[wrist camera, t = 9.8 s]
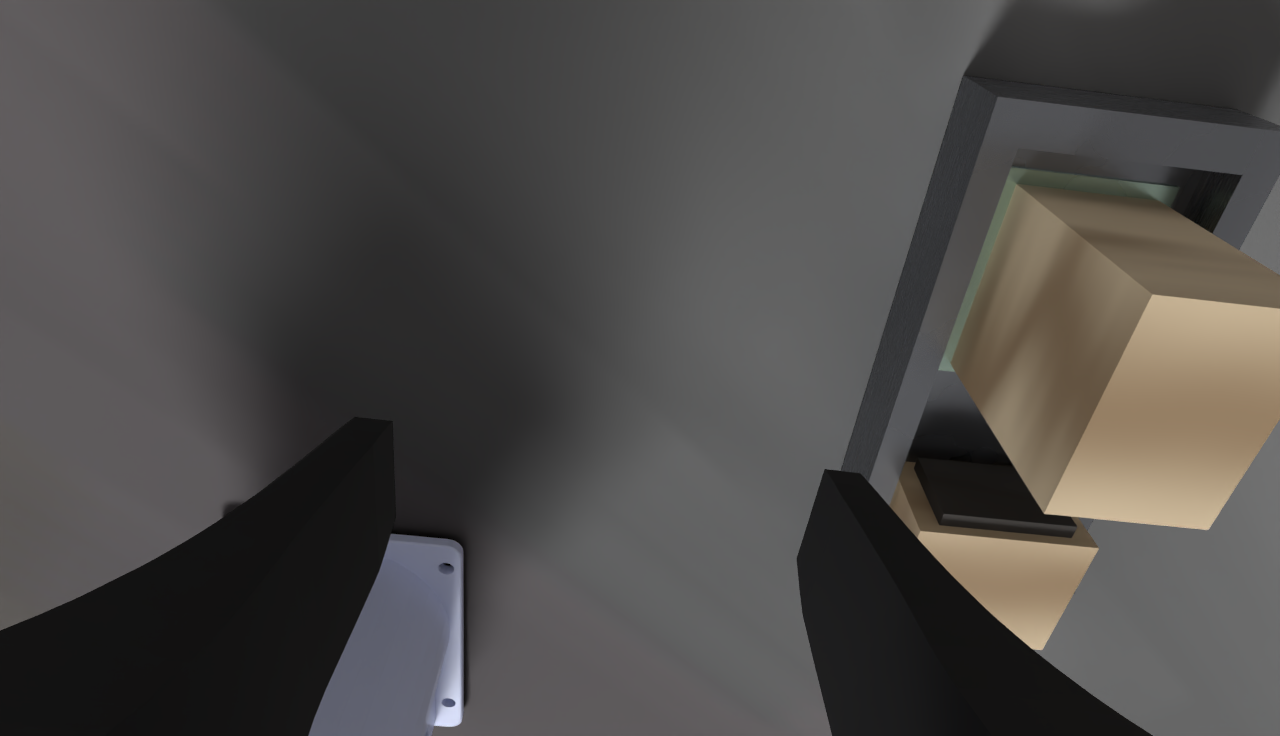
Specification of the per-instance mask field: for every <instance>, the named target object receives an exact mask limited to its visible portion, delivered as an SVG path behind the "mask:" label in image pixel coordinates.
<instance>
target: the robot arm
mask: <svg viewBox="0 0 1280 736" xmlns="http://www.w3.org/2000/svg"><path fill="white" fill-rule="evenodd" d="M395 518H396V507H395V479H394V451H393V423H392V421H386V420H377V419H368V418H359V417H354V418H353V419H352V420H350V421H349V422H348V423H346V424H345V425H344V426H342V427H341V428H340V429H339V430H337V431H336V432H335V433H334V434H332V435H331V436H330V437H329V438H328V439H326V440H325V441H324V442H323V443H321V444H320V445H319V446H318V447H317V448H315V449H314V450H313V451H312V452H310V453H309V454H308V455H307V456H305V457H304V458H303V459H302V460H300V461H299V462H298V463H297V464H295V465H294V466H293V467H292V468H290V469H289V470H288V471H286V472H285V473H284V474H282V475H281V476H280V477H278V478H277V479H276V480H275V481H273V482H272V483H271V484H269V485H268V486H267V487H265V488H264V489H263V490H261V491H260V492H259V493H257V494H256V495H255V496H253V497H252V498H250V499H249V500H248V501H246V502H245V503H243V504H242V505H240V506H239V507H237V508H236V509H235V510H233V511H232V512H230V513H229V514H227V515H226V516H225V517H223V518H222V519H220V520H219V521H217V522H216V523H214V524H213V525H211V526H210V527H208V528H207V529H205V530H203V531H202V532H200V533H199V534H197V535H195V536H194V537H192V538H190V539H189V540H187V541H185V542H184V543H182V544H180V545H178V546H177V547H175V548H173V549H172V550H170V551H168V552H166V553H165V554H163V555H161V556H159V557H158V558H156V559H154V560H152V561H150V562H149V563H147V564H145V565H143V566H141V567H139V568H137V569H135V570H133V571H131V572H129V573H127V574H125V575H123V576H121V577H119V578H117V579H115V580H113V581H111V582H109V583H107V584H105V585H103V586H101V587H99V588H97V589H95V590H93V591H91V592H89V593H87V594H85V595H83V596H81V597H78V598H76V599H74V600H72V601H70V602H67V603H65V604H63V605H61V606H58V607H56V608H54V609H51V610H49V611H47V612H44V613H42V614H40V615H38V616H35V617H33V618H30V619H28V620H25V621H23V622H20V623H18V624H15V625H13V626H11V627H8V628H6V629H3V630H1V631H0V736H432V732H433V728H434V725H435V726H447V727H453V726H456V725H459V724H460V723H461V721H462V718H463V713H464V591H463V548H462V546H461V545H460V544H459V543H457V542H456V541H454V540H450V539H442V538H432V537H421V536H410V535H400V534H391V532H392V528H393V525H394V521H395ZM443 563H448V564H451V565H452V566H448V565H445V564H443ZM797 566H798V577H799V588H800V596H801V604H802V613H803V617H804V622H805V626H806V630H807V635H808V639H809V643H810V647H811V651H812V656H813V660H814V664H815V668H816V672H817V676H818V680H819V684H820V688H821V692H822V696H823V700H824V704H825V708H826V712H827V716H828V720H829V724H830V728H831V732H832V736H1153V735H1151V734H1150V733H1148V732H1146V731H1145V730H1143V729H1142V728H1140V727H1139V726H1137V725H1135V724H1134V723H1132V722H1131V721H1129V720H1128V719H1126V718H1125V717H1123V716H1122V715H1120V714H1119V713H1117V712H1116V711H1114V710H1113V709H1112V708H1110V707H1109V706H1107V705H1106V704H1104V703H1103V702H1101V701H1100V700H1098V699H1097V698H1096V697H1094V696H1093V695H1091V694H1090V693H1089V692H1087V691H1086V690H1085V689H1083V688H1082V687H1081V686H1079V685H1078V684H1077V683H1075V682H1074V681H1073V680H1071V679H1070V678H1069V677H1067V676H1066V675H1065V674H1063V673H1062V672H1060V671H1059V670H1058V669H1056V668H1055V667H1054V666H1053V665H1051V664H1050V663H1049V662H1048V661H1046V660H1045V659H1044V658H1043V657H1041V656H1040V655H1039V654H1037V653H1036V652H1035V651H1034V650H1033V649H1031V648H1030V647H1029V646H1028V645H1027V644H1026V643H1024V642H1023V641H1022V640H1021V639H1020V638H1019V637H1017V636H1016V635H1015V634H1014V633H1013V632H1012V631H1010V630H1009V629H1008V628H1007V627H1006V626H1005V625H1003V624H1002V623H1001V622H1000V621H999V620H998V619H997V618H996V617H994V616H993V615H992V614H991V613H990V612H989V611H988V610H987V609H986V608H985V607H984V606H983V605H982V604H981V603H979V602H978V601H977V600H976V599H975V598H974V597H973V596H972V595H971V594H970V593H969V592H968V591H967V590H966V589H965V588H964V587H963V586H962V585H961V584H960V583H959V582H958V581H957V580H956V579H955V578H954V577H953V576H952V575H951V574H950V573H949V572H948V571H947V570H946V569H945V567H944V566H943V565H942V564H941V563H940V562H939V561H938V560H937V559H936V558H935V557H934V556H933V555H932V554H931V553H930V551H929V550H928V549H927V548H926V547H925V546H924V545H923V544H922V543H921V542H920V540H919V539H918V538H917V537H916V536H915V535H914V534H913V533H912V531H911V530H910V529H909V528H908V527H907V526H906V525H905V524H904V522H903V521H902V520H901V519H900V518H899V517H898V515H897V514H896V513H895V512H894V511H893V510H892V509H891V507H890V506H889V505H888V504H887V503H886V502H885V500H884V499H883V498H882V497H881V496H880V495H879V493H878V492H877V491H876V490H875V489H874V488H873V487H872V485H871V484H870V483H869V482H868V481H867V480H866V479H865V478H864V477H863V476H862V474H861V473H854V472H845V471H836V470H827V469H825V470H824V473H823V476H822V480H821V483H820V486H819V489H818V492H817V496H816V499H815V502H814V505H813V508H812V512H811V515H810V518H809V521H808V524H807V528H806V531H805V534H804V537H803V540H802V543H801V547H800V550H799V553H798V556H797Z"/></svg>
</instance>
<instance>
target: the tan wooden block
mask: <svg viewBox="0 0 1280 736" xmlns="http://www.w3.org/2000/svg"><path fill="white" fill-rule="evenodd" d="M950 364H951V366H952V367H953V369H954V371H955V372H956V374H957V375H958V377H959V379H960V380H961V382H962V383H963V385H964V387H965V388H966V390H967V391H968V393H969V395H970V396H971V398H972V399H973V401H974V404H975V405H976V407H977V409H978V410H979V412H980V413H981V415H982V417H983V418H984V420H985V422H986V423H987V425H988V426H989V428H990V430H991V431H992V433H993V434H994V436H995V438H996V439H997V441H998V442H999V444H1000V446H1001V447H1002V449H1003V450H1004V452H1005V454H1006V455H1007V457H1008V458H1009V460H1010V462H1011V463H1012V465H1013V466H1014V468H1015V470H1016V471H1017V473H1018V474H1019V476H1020V478H1021V479H1022V481H1023V483H1024V484H1025V486H1026V487H1027V489H1028V491H1029V492H1030V494H1031V495H1032V497H1033V499H1034V500H1035V502H1036V503H1037V504H1038V505H1039V507H1040V508H1041V510H1042V512H1043V513H1044V514H1051V515H1061V516H1072V517H1082V518H1092V519H1102V520H1112V521H1122V522H1132V523H1143V524H1153V525H1163V526H1173V527H1183V528H1193V529H1204V530H1208V529H1209V528H1210V526H1211V525H1212V523H1213V522H1214V520H1215V519H1216V517H1217V516H1218V514H1219V512H1220V511H1221V509H1222V508H1223V506H1224V505H1225V503H1226V502H1227V500H1228V498H1229V497H1230V495H1231V494H1232V492H1233V491H1234V489H1235V488H1236V486H1237V484H1238V483H1239V481H1240V480H1241V478H1242V477H1243V475H1244V474H1245V472H1246V470H1247V469H1248V467H1249V466H1250V464H1251V463H1252V461H1253V460H1254V458H1255V456H1256V455H1257V453H1258V452H1259V450H1260V449H1261V447H1262V446H1263V444H1264V442H1265V441H1266V439H1267V438H1268V436H1269V435H1270V433H1271V432H1272V430H1273V429H1274V427H1275V425H1276V424H1277V422H1278V421H1279V419H1280V275H1278V274H1277V273H1275V272H1273V271H1272V270H1270V269H1269V268H1267V267H1265V266H1264V265H1262V264H1261V263H1259V262H1257V261H1256V260H1254V259H1252V258H1251V257H1249V256H1248V255H1246V254H1244V253H1243V252H1241V251H1239V250H1238V249H1236V248H1235V247H1233V246H1231V245H1230V244H1228V243H1227V242H1225V241H1223V240H1222V239H1220V238H1218V237H1217V236H1215V235H1214V234H1212V233H1210V232H1209V231H1207V230H1205V229H1204V228H1202V227H1201V226H1199V225H1197V224H1196V223H1194V222H1193V221H1191V220H1189V219H1188V218H1186V217H1184V216H1183V215H1181V214H1180V213H1178V212H1176V211H1175V210H1173V209H1172V208H1170V207H1168V206H1167V205H1165V204H1163V203H1162V202H1160V201H1158V200H1149V199H1141V198H1132V197H1124V196H1116V195H1107V194H1099V193H1090V192H1082V191H1073V190H1065V189H1056V188H1048V187H1039V186H1031V185H1022V184H1016V186H1015V189H1014V192H1013V194H1012V197H1011V200H1010V202H1009V205H1008V208H1007V211H1006V213H1005V216H1004V219H1003V222H1002V224H1001V227H1000V230H999V232H998V235H997V238H996V241H995V243H994V246H993V249H992V252H991V254H990V257H989V260H988V262H987V265H986V268H985V271H984V273H983V276H982V279H981V281H980V284H979V287H978V290H977V292H976V295H975V298H974V301H973V303H972V306H971V309H970V311H969V314H968V317H967V320H966V322H965V325H964V328H963V330H962V333H961V336H960V339H959V341H958V344H957V347H956V350H955V352H954V355H953V358H952V360H951V363H950Z"/></svg>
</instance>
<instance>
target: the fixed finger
mask: <svg viewBox="0 0 1280 736" xmlns="http://www.w3.org/2000/svg"><path fill="white" fill-rule="evenodd" d="M889 506H890V507H891V509H892V510H893V511H894V512H895V513H896V514H897V515H898V517H899V518H900V519H901V520H902V521H903V522H904V524H905V525H906V526H907V527H908V528H909V529H910V530H911V531H912V533H913V534H914V535H915V536H916V537H917V538H918V539H919V540H920V542H921V543H922V544H923V545H924V546H925V547H926V548H927V549H928V550H929V551H930V553H931V554H932V555H933V556H934V557H935V558H936V559H937V560H938V561H939V562H940V563H941V564H942V565H943V566H944V567H945V569H946V570H947V571H948V572H949V573H950V574H951V575H952V576H953V577H954V578H955V579H956V580H957V581H958V582H959V583H960V584H961V585H962V586H963V587H964V588H965V589H966V590H967V591H968V592H969V593H970V594H971V595H972V596H973V597H974V598H975V599H976V600H977V601H978V602H979V603H981V604H982V605H983V606H984V607H985V608H986V609H987V610H988V611H989V612H990V613H991V614H992V615H993V616H994V617H996V618H997V619H998V620H999V621H1000V622H1001V623H1002V624H1003V625H1005V626H1006V627H1007V628H1008V629H1009V630H1010V631H1012V632H1013V633H1014V634H1015V635H1016V636H1017V637H1019V638H1020V639H1021V640H1022V641H1023V642H1024V643H1026V644H1027V645H1028V646H1029V647H1030V648H1031V649H1037V650H1042V649H1043V648H1044V646H1045V644H1046V642H1047V640H1048V639H1049V637H1050V635H1051V633H1052V631H1053V630H1054V628H1055V626H1056V624H1057V622H1058V621H1059V619H1060V617H1061V615H1062V613H1063V612H1064V610H1065V608H1066V606H1067V605H1068V603H1069V601H1070V599H1071V597H1072V596H1073V594H1074V592H1075V590H1076V588H1077V587H1078V585H1079V583H1080V581H1081V579H1082V578H1083V576H1084V574H1085V572H1086V570H1087V569H1088V567H1089V565H1090V563H1091V562H1092V560H1093V558H1094V556H1095V554H1096V553H1097V551H1098V549H1099V548H1098V546H1097V545H1096V543H1095V542H1094V540H1093V539H1092V537H1091V536H1090V534H1089V533H1088V531H1087V530H1086V528H1085V527H1084V525H1083V524H1082V523H1081V521H1080V520H1079V518H1078V517H1072V516H1061V515H1051V514H1044V513H1043V512H1042V510H1041V508H1040V507H1039V505H1038V504H1037V503H1036V502H1035V500H1034V499H1033V497H1032V495H1031V494H1030V492H1029V491H1028V489H1027V487H1026V486H1025V484H1024V483H1023V481H1022V479H1021V478H1020V476H1019V474H1018V473H1017V471H1016V470H1015V468H1014V467H1007V466H997V465H988V464H978V463H968V462H958V461H948V460H938V459H928V458H917V461H916V462H906V461H905V464H904V466H903V469H902V472H901V475H900V478H899V480H898V483H897V486H896V489H895V491H894V494H893V497H892V500H891V503H890V505H889Z"/></svg>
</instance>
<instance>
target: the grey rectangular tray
mask: <svg viewBox="0 0 1280 736" xmlns="http://www.w3.org/2000/svg"><path fill="white" fill-rule="evenodd" d="M1279 175H1280V126H1279V125H1276V124H1274V123H1271V122H1269V121H1266V120H1263V119H1261V118H1258V117H1255V116H1253V115H1250V114H1247V113H1245V112H1242V111H1240V110H1236V109H1228V108H1220V107H1212V106H1204V105H1196V104H1188V103H1180V102H1172V101H1164V100H1155V99H1147V98H1139V97H1131V96H1123V95H1115V94H1107V93H1099V92H1091V91H1083V90H1075V89H1067V88H1059V87H1051V86H1042V85H1034V84H1026V83H1018V82H1010V81H1002V80H994V79H986V78H978V77H970V76H963V78H962V81H961V85H960V88H959V91H958V94H957V97H956V101H955V104H954V107H953V110H952V114H951V117H950V120H949V123H948V127H947V130H946V133H945V136H944V139H943V143H942V146H941V149H940V152H939V156H938V159H937V162H936V165H935V169H934V172H933V175H932V178H931V181H930V185H929V188H928V191H927V194H926V198H925V201H924V204H923V207H922V211H921V214H920V217H919V220H918V223H917V227H916V230H915V233H914V236H913V240H912V243H911V246H910V249H909V253H908V256H907V259H906V262H905V265H904V269H903V272H902V275H901V278H900V282H899V285H898V288H897V291H896V295H895V298H894V301H893V304H892V307H891V311H890V314H889V317H888V320H887V324H886V327H885V330H884V333H883V337H882V340H881V343H880V346H879V349H878V353H877V356H876V359H875V362H874V366H873V369H872V372H871V375H870V379H869V382H868V385H867V388H866V391H865V395H864V398H863V401H862V404H861V408H860V411H859V414H858V417H857V421H856V424H855V427H854V430H853V433H852V437H851V440H850V443H849V446H848V450H847V453H846V456H845V459H844V463H843V466H842V469H841V471H845V472H854V473H861V474H862V476H863V477H864V478H865V479H866V480H867V481H868V482H869V483H870V484H871V485H872V487H873V488H874V489H875V490H876V491H877V492H878V493H879V495H880V496H881V497H882V498H883V499H884V500H885V502H886V503H887V504H888V505H890V503H891V500H892V497H893V494H894V491H895V489H896V486H897V483H898V480H899V478H900V475H901V472H902V469H903V466H904V464H905V461H906V462H916V461H917V458H928V459H938V460H948V461H958V462H968V463H978V464H988V465H997V466H1007V467H1014V466H1013V465H1012V463H1011V462H1010V460H1009V458H1008V457H1007V455H1006V454H1005V452H1004V450H1003V449H1002V447H1001V446H1000V444H999V442H998V441H997V439H996V438H995V436H994V434H993V433H992V431H991V430H990V428H989V426H988V425H987V423H986V422H985V420H984V418H983V417H982V415H981V413H980V412H979V410H978V409H977V407H976V405H975V404H974V401H973V399H972V398H971V396H970V395H969V393H968V391H967V390H966V388H965V387H964V385H963V383H962V382H961V380H960V379H959V377H958V375H957V374H956V372H955V371H954V369H953V367H952V366H951V364H950V363H951V360H952V358H953V355H954V352H955V350H956V347H957V344H958V341H959V339H960V336H961V333H962V330H963V328H964V325H965V322H966V320H967V317H968V314H969V311H970V309H971V306H972V303H973V301H974V298H975V295H976V292H977V290H978V287H979V284H980V281H981V279H982V276H983V273H984V271H985V268H986V265H987V262H988V260H989V257H990V254H991V252H992V249H993V246H994V243H995V241H996V238H997V235H998V232H999V230H1000V227H1001V224H1002V222H1003V219H1004V216H1005V213H1006V211H1007V208H1008V205H1009V202H1010V200H1011V197H1012V194H1013V192H1014V189H1015V186H1016V184H1022V185H1031V186H1039V187H1048V188H1056V189H1065V190H1073V191H1082V192H1090V193H1099V194H1107V195H1116V196H1124V197H1132V198H1141V199H1149V200H1158V201H1160V202H1162V203H1163V204H1165V205H1167V206H1168V207H1170V208H1172V209H1173V210H1175V211H1176V212H1178V213H1180V214H1181V215H1183V216H1184V217H1186V218H1188V219H1189V220H1191V221H1193V222H1194V223H1196V224H1197V225H1199V226H1201V227H1202V228H1204V229H1205V230H1207V231H1209V232H1210V233H1212V234H1214V235H1215V236H1217V237H1218V238H1220V239H1222V240H1223V241H1225V242H1227V243H1228V244H1230V245H1231V246H1233V247H1235V248H1236V249H1238V250H1239V249H1240V247H1241V246H1242V244H1243V242H1244V240H1245V238H1246V236H1247V234H1248V233H1249V231H1250V229H1251V227H1252V225H1253V223H1254V221H1255V220H1256V218H1257V216H1258V214H1259V212H1260V210H1261V209H1262V207H1263V205H1264V203H1265V201H1266V199H1267V197H1268V196H1269V194H1270V192H1271V190H1272V188H1273V186H1274V184H1275V183H1276V181H1277V179H1278V177H1279ZM1078 518H1079V520H1080V521H1081V523H1082V524H1083V525H1084V527H1085V528H1086V530H1087V531H1088V529H1089V527H1090V525H1091V524H1092V522H1093V520H1094V519H1092V518H1082V517H1078Z"/></svg>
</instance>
